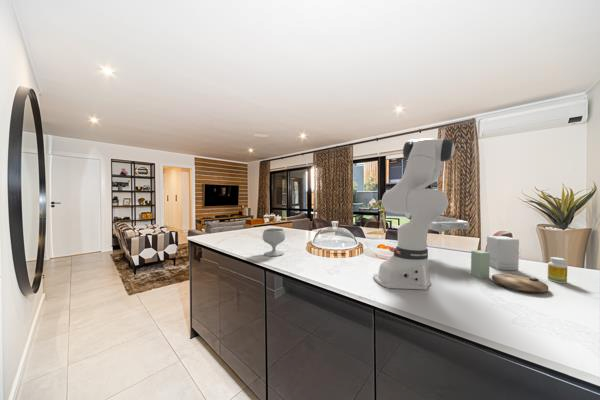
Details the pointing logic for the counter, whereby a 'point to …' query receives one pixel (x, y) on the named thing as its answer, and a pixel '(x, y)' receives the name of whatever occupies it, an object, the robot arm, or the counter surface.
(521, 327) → the counter surface
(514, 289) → the base
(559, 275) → the supplement bottle
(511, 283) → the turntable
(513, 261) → the supplement box
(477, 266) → the spindle block
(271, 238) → the chalice
